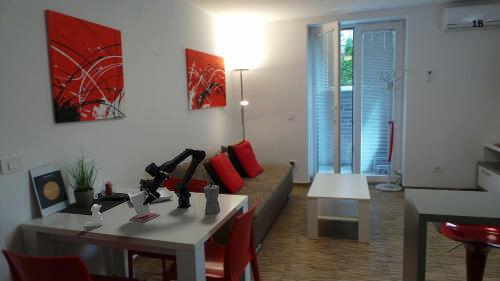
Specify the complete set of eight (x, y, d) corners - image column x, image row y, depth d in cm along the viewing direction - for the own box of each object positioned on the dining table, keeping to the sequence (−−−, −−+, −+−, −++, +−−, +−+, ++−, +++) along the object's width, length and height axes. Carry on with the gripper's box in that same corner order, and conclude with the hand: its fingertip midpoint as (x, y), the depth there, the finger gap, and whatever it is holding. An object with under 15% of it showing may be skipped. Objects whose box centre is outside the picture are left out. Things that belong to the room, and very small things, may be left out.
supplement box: (150, 213, 199) (143, 193, 197) (137, 218, 198) (130, 197, 196) (151, 209, 206) (144, 190, 204) (139, 214, 205) (131, 194, 203)
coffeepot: (222, 214, 203) (220, 183, 201) (206, 216, 201) (204, 185, 199) (218, 206, 218) (216, 178, 216) (203, 208, 216) (201, 179, 214)
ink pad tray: (159, 215, 205) (159, 213, 205) (145, 222, 195) (145, 220, 195) (143, 213, 211) (143, 211, 210) (129, 220, 200) (129, 217, 200)
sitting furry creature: (99, 221, 201) (97, 200, 199) (109, 223, 196) (107, 202, 195) (84, 226, 193) (82, 205, 191) (94, 229, 188) (92, 207, 187)
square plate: (127, 197, 250) (127, 192, 249) (165, 191, 261) (165, 186, 260) (131, 207, 225) (131, 201, 225) (174, 200, 237) (173, 194, 236)
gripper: (141, 171, 209) (124, 192, 204) (153, 175, 195) (135, 199, 189) (154, 181, 215) (138, 202, 210) (167, 187, 200) (150, 210, 195)
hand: (140, 203), depth 201 cm, fingers closed on supplement box, 9 cm apart
